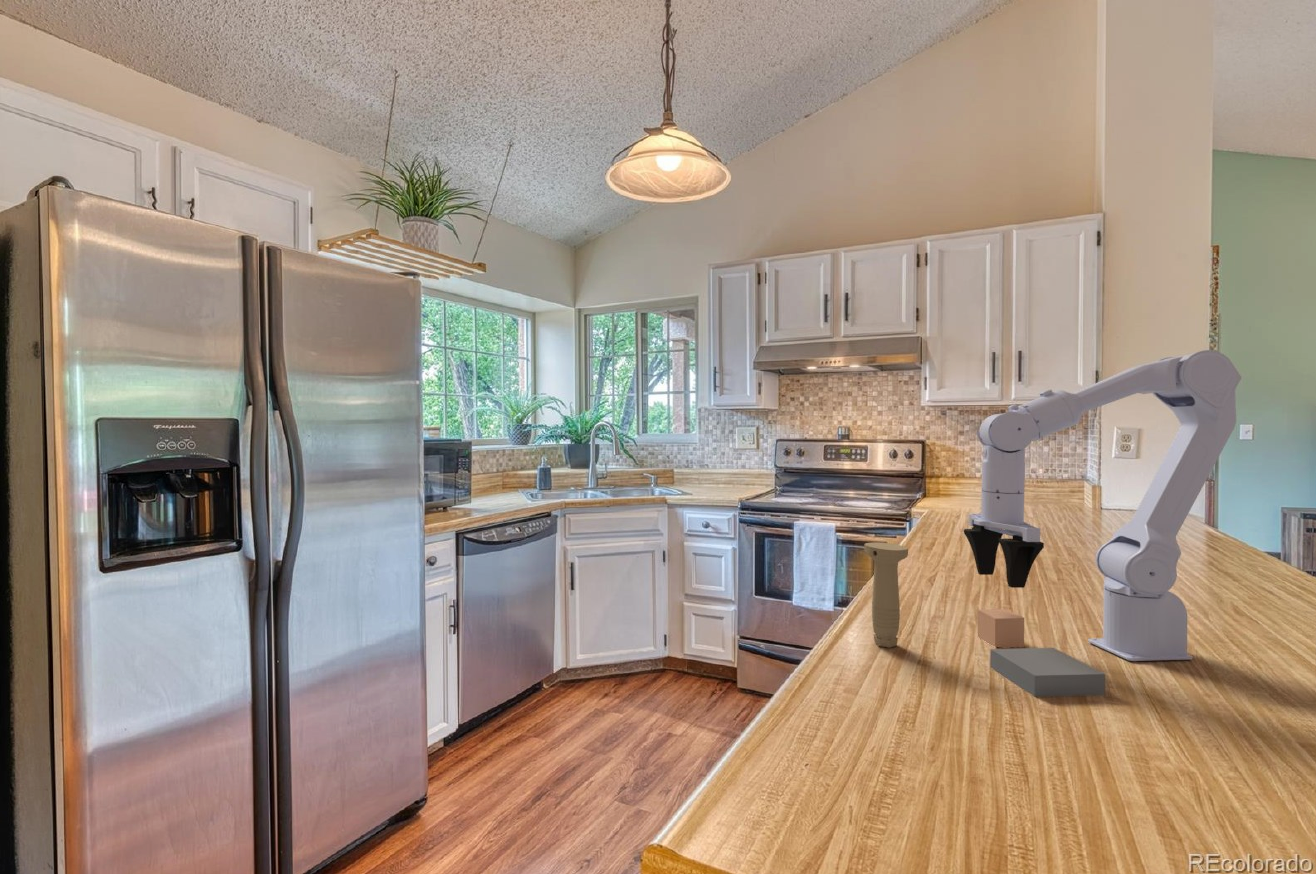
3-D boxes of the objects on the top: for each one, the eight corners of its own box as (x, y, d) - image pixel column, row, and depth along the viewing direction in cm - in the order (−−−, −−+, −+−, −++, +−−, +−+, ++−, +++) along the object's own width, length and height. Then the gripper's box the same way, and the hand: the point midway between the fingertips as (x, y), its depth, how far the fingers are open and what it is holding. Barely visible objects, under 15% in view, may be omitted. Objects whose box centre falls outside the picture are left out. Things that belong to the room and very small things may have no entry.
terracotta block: (1005, 637, 96) (1005, 609, 96) (1024, 647, 91) (1024, 618, 91) (977, 638, 95) (977, 609, 95) (995, 648, 91) (995, 618, 91)
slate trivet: (1053, 669, 84) (1053, 647, 84) (1105, 698, 75) (1105, 674, 75) (990, 670, 83) (990, 649, 83) (1034, 700, 74) (1034, 675, 74)
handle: (892, 654, 88) (892, 551, 88) (857, 641, 94) (858, 544, 94) (914, 648, 91) (914, 548, 90) (879, 635, 96) (879, 541, 96)
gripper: (951, 486, 100) (949, 569, 100) (1007, 497, 85) (1004, 593, 86) (993, 487, 100) (991, 569, 100) (1055, 497, 86) (1052, 593, 86)
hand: (1000, 580), depth 93 cm, fingers open, 7 cm apart
